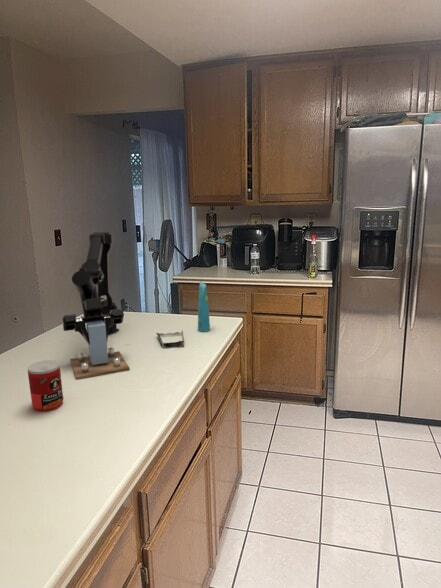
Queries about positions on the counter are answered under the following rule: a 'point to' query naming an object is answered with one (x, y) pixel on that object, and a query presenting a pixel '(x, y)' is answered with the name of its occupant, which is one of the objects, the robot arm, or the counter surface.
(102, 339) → the slate blue block
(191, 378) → the counter surface
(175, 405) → the counter surface
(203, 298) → the tube
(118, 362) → the peg stand
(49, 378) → the canned food
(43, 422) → the counter surface
